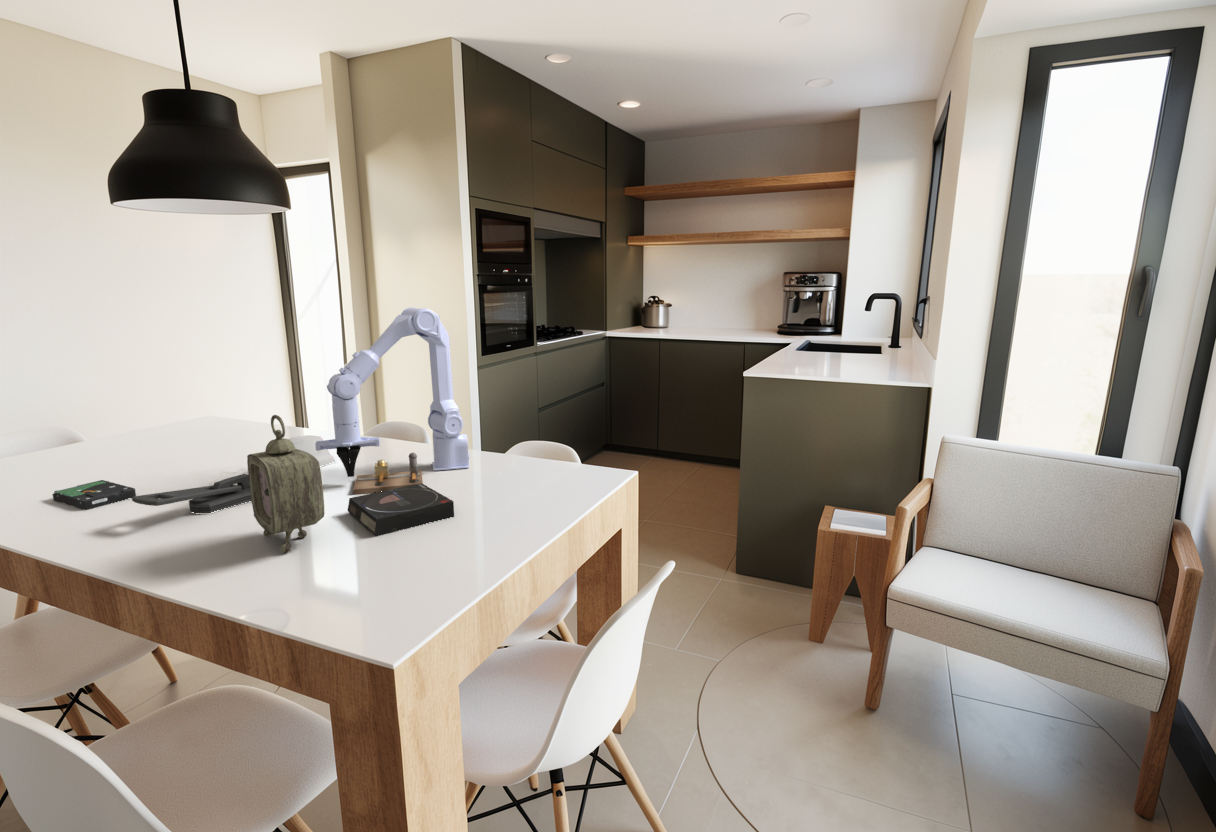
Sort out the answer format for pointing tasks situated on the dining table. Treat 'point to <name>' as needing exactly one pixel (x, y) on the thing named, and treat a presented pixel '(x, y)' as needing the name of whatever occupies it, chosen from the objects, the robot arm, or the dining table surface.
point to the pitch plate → (389, 479)
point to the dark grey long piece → (204, 495)
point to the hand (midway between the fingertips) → (351, 475)
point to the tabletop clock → (285, 487)
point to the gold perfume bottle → (381, 470)
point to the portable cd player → (400, 508)
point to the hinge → (312, 448)
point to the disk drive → (94, 494)
